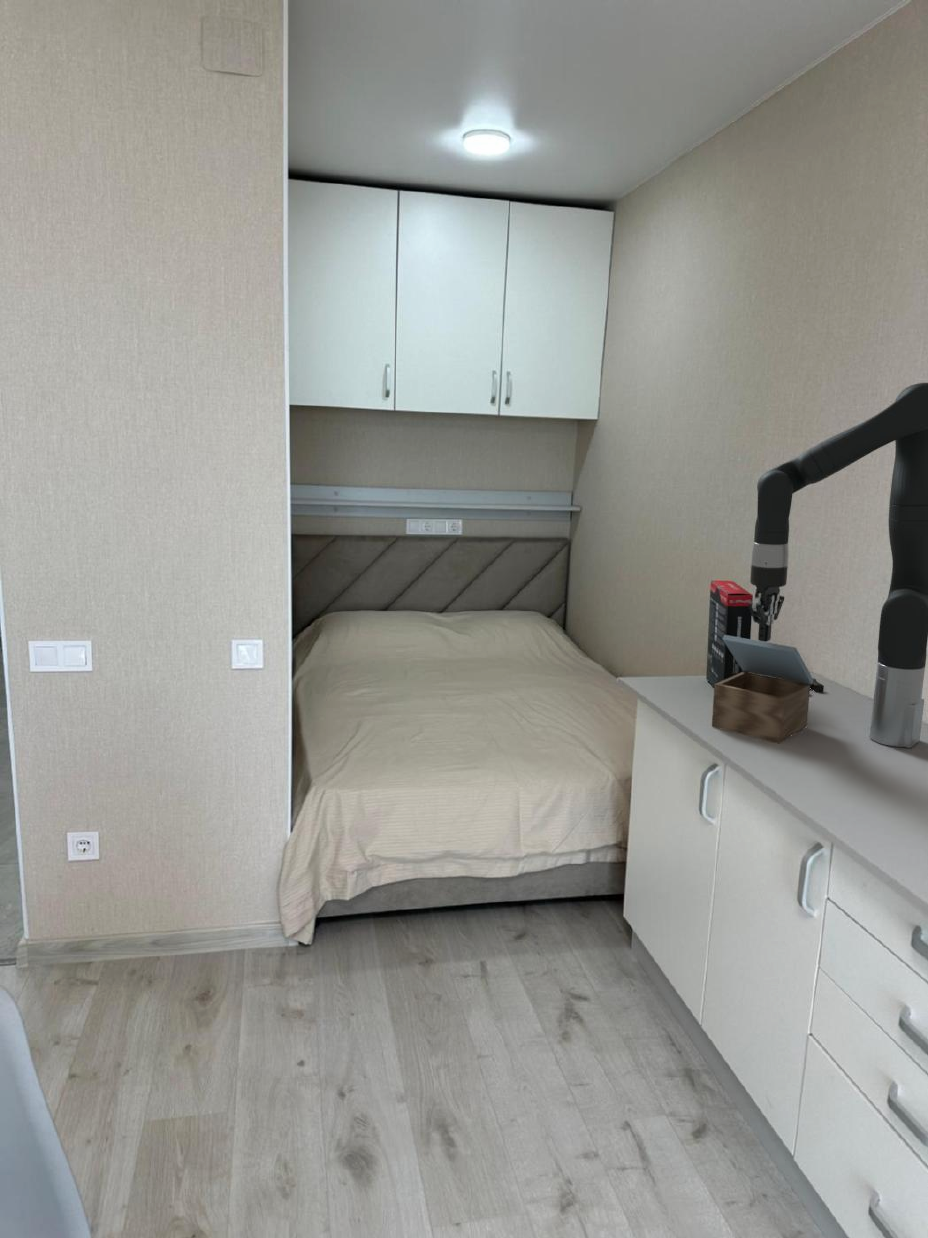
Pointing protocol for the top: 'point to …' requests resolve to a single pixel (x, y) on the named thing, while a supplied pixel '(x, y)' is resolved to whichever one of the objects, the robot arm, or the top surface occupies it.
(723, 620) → the graphics card box
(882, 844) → the top surface
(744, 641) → the lid
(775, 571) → the robot arm
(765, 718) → the walnut box
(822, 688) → the toy gun
